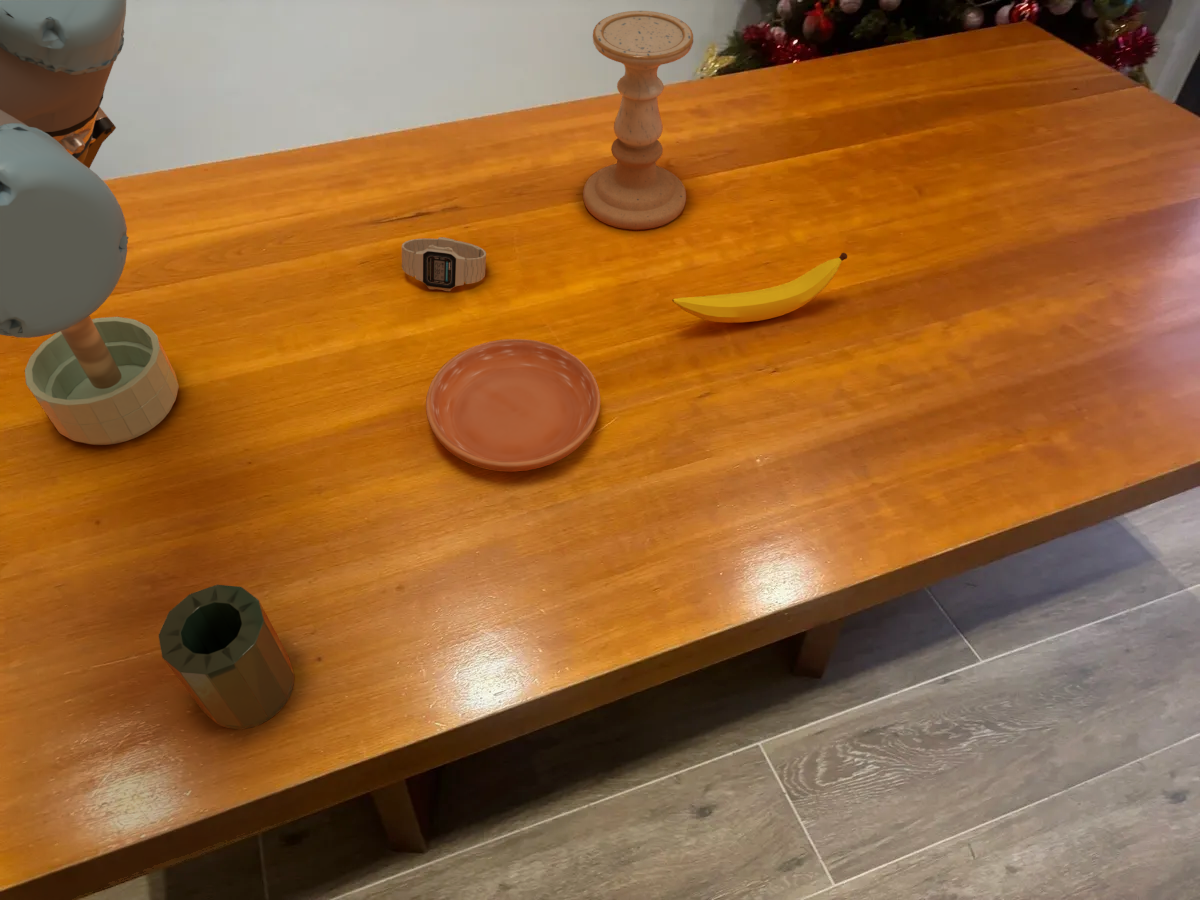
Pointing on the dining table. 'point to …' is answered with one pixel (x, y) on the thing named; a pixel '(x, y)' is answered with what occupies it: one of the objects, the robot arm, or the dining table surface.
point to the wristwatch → (443, 262)
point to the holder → (227, 656)
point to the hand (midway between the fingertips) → (6, 231)
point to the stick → (92, 354)
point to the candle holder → (638, 122)
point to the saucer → (513, 404)
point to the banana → (763, 298)
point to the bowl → (107, 410)
